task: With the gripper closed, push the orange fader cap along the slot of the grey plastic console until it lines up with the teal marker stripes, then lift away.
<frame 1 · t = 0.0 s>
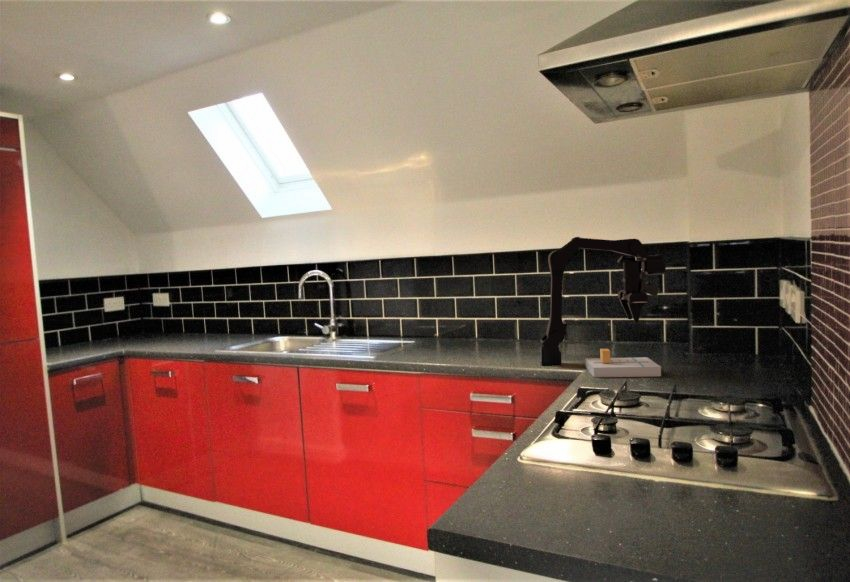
hand: (633, 320, 202), 14 cm above the countertop, fingers open, 9 cm apart
console: (621, 371, 189), on the countertop
fader knob: (605, 359, 189), point 4 cm above the countertop, slide at -5.0 cm
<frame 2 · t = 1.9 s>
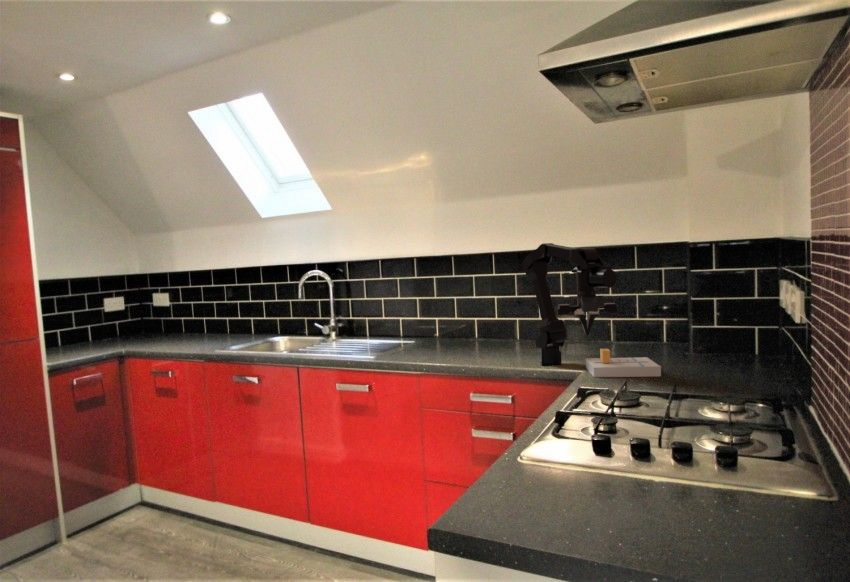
hand: (587, 335, 189), 12 cm above the countertop, fingers closed
nothing on the countertop moved.
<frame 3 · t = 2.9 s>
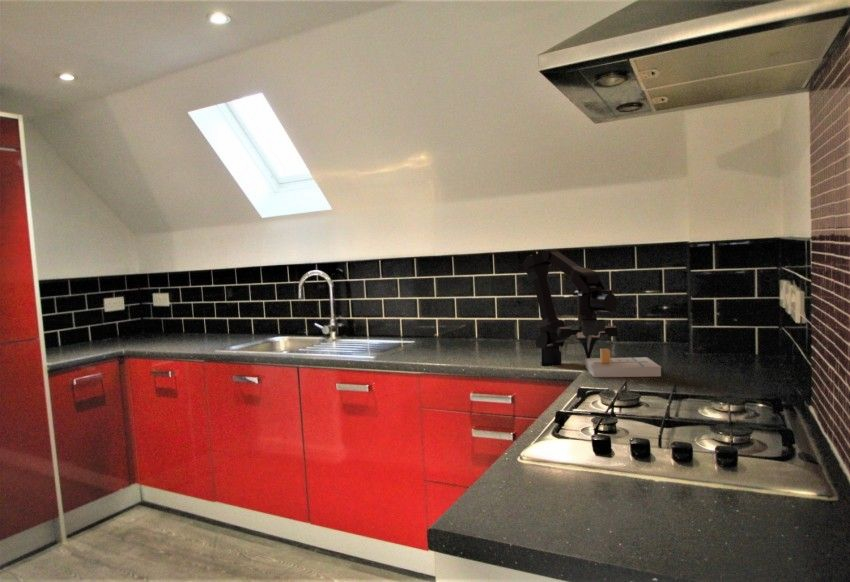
hand: (588, 358, 190), 5 cm above the countertop, fingers closed
nothing on the countertop moved.
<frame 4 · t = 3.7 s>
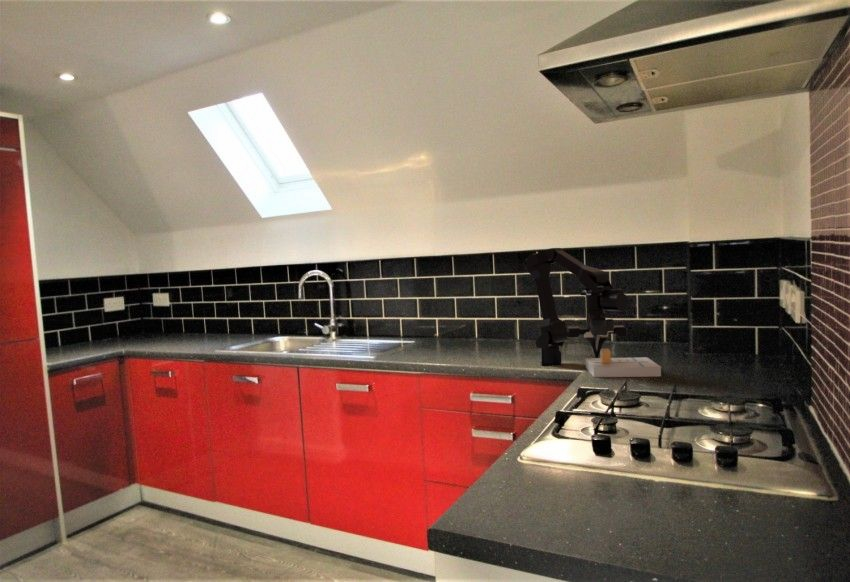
hand: (596, 357, 189), 5 cm above the countertop, fingers closed
fader knob: (605, 359, 189), point 4 cm above the countertop, slide at -4.9 cm, touching gripper
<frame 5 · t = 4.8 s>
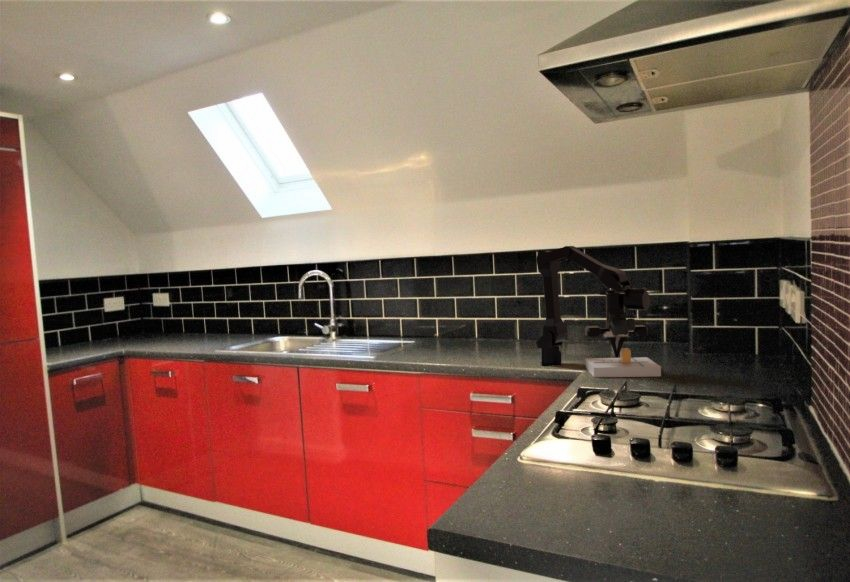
hand: (616, 357, 189), 5 cm above the countertop, fingers closed
fader knob: (625, 359, 188), point 4 cm above the countertop, slide at 1.3 cm, touching gripper
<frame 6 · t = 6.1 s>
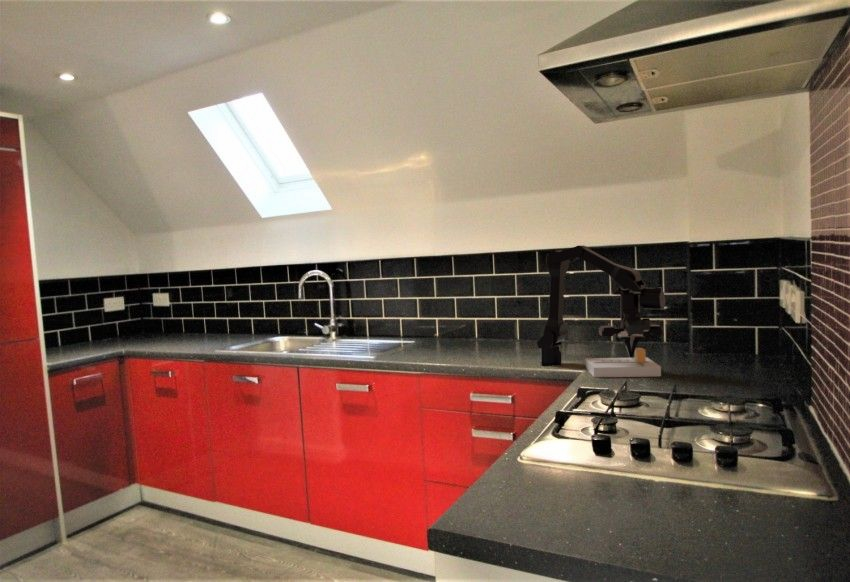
hand: (630, 357, 188), 5 cm above the countertop, fingers closed
fader knob: (640, 358, 188), point 4 cm above the countertop, slide at 5.8 cm, touching gripper
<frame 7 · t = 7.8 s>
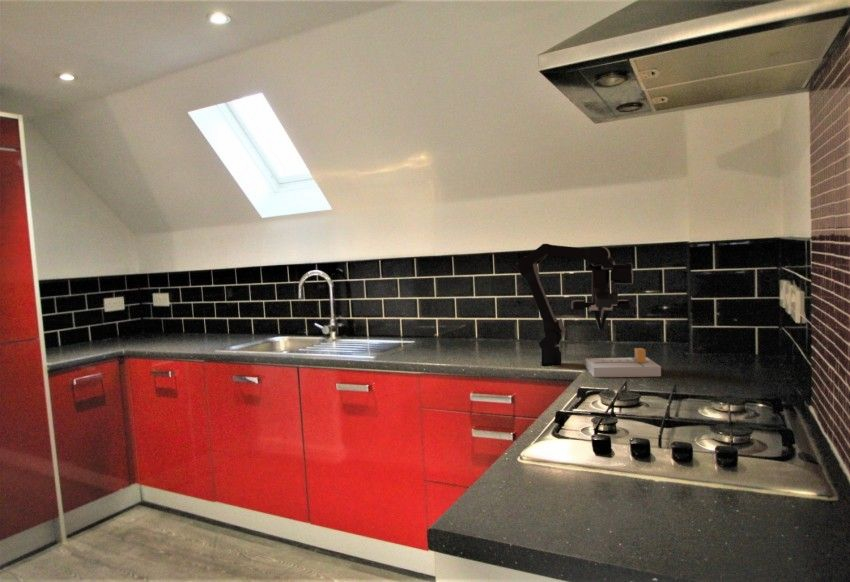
hand: (600, 330, 198), 12 cm above the countertop, fingers closed
fader knob: (640, 358, 188), point 4 cm above the countertop, slide at 5.8 cm
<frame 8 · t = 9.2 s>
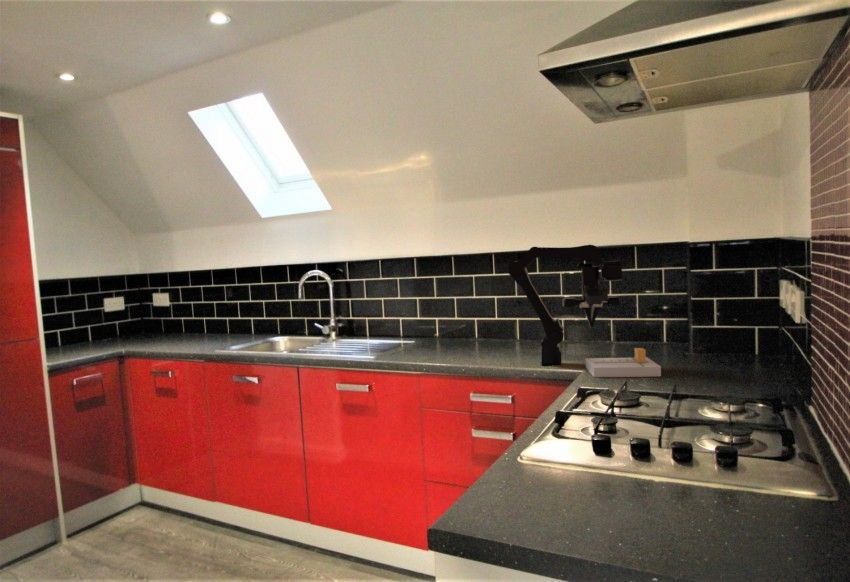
hand: (591, 326, 202), 13 cm above the countertop, fingers closed
nothing on the countertop moved.
at the end: fader knob slide at 5.8 cm; fader knob touching nothing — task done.
